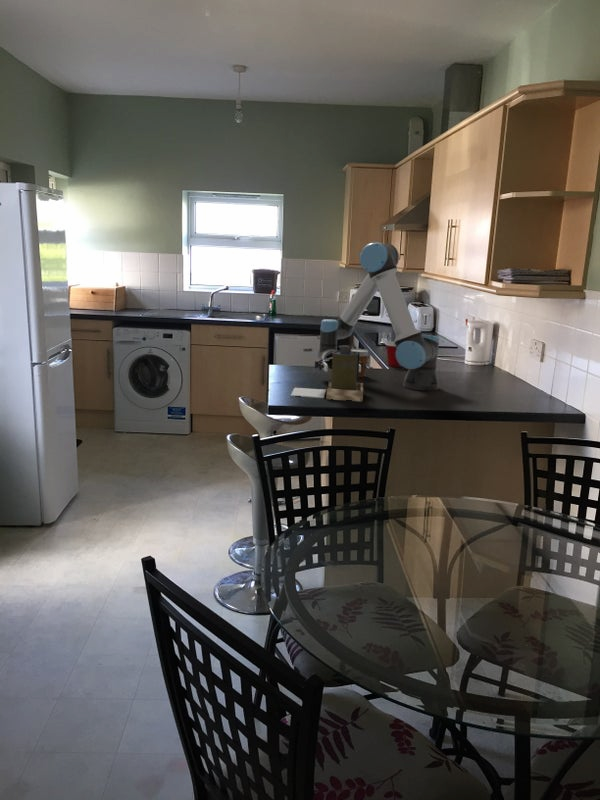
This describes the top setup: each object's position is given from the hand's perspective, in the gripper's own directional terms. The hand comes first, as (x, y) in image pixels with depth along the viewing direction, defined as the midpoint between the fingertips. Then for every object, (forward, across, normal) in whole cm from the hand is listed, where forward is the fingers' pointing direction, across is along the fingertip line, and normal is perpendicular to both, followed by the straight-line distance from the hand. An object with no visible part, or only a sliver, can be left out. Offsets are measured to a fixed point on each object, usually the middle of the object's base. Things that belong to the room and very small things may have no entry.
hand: (343, 368), depth 259 cm
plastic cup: (-69, -43, -11) cm, 82 cm away
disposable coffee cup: (-41, -16, -11) cm, 45 cm away
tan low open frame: (0, -1, -11) cm, 11 cm away
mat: (-3, +13, -11) cm, 17 cm away
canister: (0, -1, -11) cm, 11 cm away
